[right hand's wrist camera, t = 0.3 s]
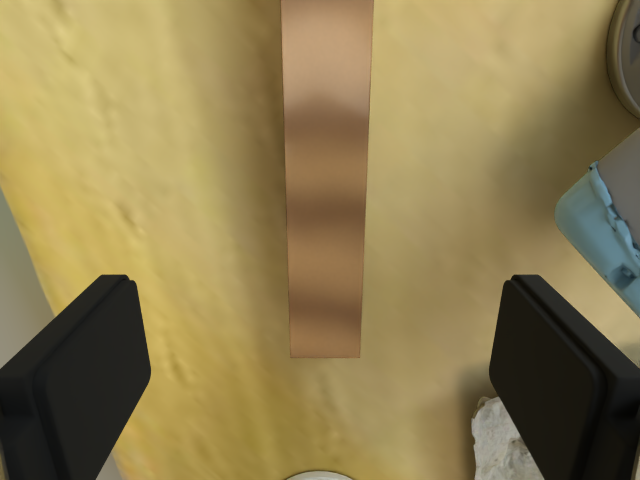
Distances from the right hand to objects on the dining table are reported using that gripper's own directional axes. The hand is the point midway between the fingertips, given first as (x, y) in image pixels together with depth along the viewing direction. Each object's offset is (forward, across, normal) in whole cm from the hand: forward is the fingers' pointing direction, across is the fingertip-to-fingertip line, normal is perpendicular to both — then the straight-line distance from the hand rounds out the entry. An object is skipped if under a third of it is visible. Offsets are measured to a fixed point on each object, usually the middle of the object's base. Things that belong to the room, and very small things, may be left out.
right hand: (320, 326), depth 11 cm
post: (+29, 0, +12) cm, 32 cm away
